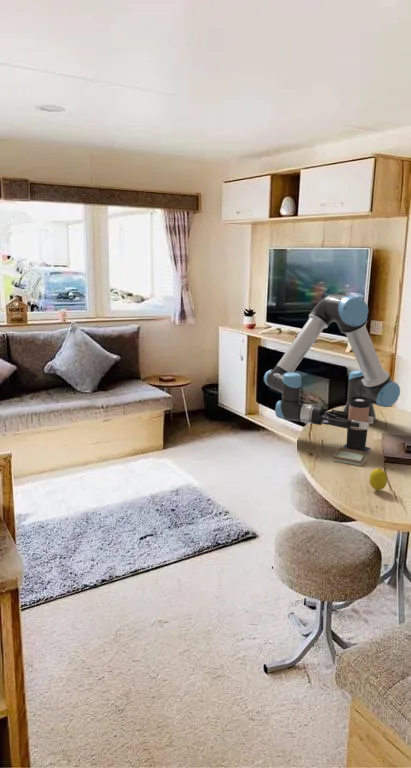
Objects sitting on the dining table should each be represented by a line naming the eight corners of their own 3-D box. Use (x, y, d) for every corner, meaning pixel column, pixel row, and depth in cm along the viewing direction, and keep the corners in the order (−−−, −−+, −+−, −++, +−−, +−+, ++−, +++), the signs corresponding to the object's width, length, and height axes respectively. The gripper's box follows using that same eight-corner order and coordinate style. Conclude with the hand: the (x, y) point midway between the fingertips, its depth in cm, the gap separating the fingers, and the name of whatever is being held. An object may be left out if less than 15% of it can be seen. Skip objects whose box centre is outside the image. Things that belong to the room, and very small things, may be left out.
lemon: (366, 491, 184) (368, 468, 182) (371, 485, 188) (373, 463, 186) (383, 495, 181) (385, 472, 179) (387, 489, 185) (390, 467, 183)
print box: (339, 451, 219) (340, 447, 219) (367, 456, 214) (367, 452, 214) (332, 460, 210) (332, 455, 210) (360, 465, 205) (361, 461, 205)
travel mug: (341, 447, 220) (345, 398, 215) (353, 443, 225) (357, 395, 220) (358, 452, 214) (362, 402, 210) (369, 448, 219) (374, 399, 214)
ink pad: (345, 446, 225) (345, 442, 225) (370, 450, 221) (370, 447, 221) (340, 451, 219) (340, 448, 219) (366, 456, 214) (366, 453, 214)
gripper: (320, 416, 235) (375, 425, 224) (304, 430, 217) (364, 440, 207) (321, 399, 233) (377, 407, 223) (305, 411, 216) (365, 421, 205)
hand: (370, 423), depth 215 cm, fingers closed on travel mug, 7 cm apart
